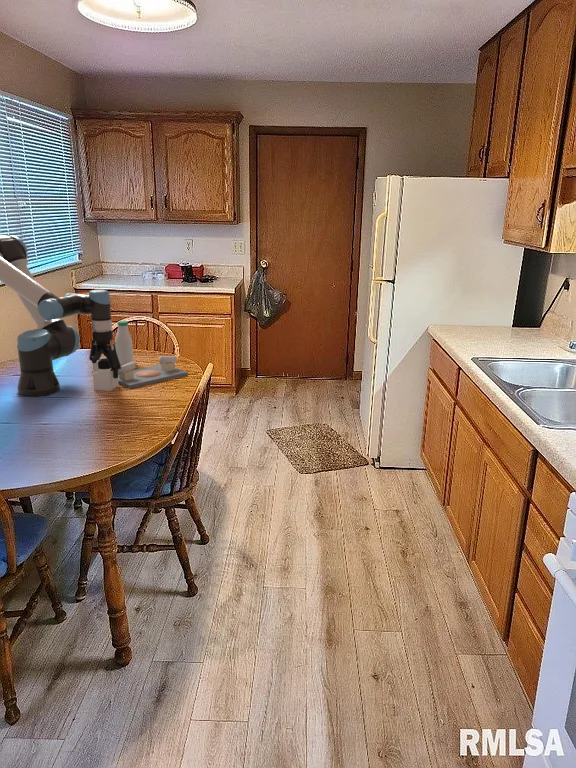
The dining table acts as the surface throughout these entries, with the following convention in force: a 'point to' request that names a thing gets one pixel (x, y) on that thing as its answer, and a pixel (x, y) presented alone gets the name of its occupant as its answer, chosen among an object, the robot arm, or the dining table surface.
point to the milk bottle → (124, 343)
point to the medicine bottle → (103, 376)
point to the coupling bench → (149, 373)
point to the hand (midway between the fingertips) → (106, 381)
